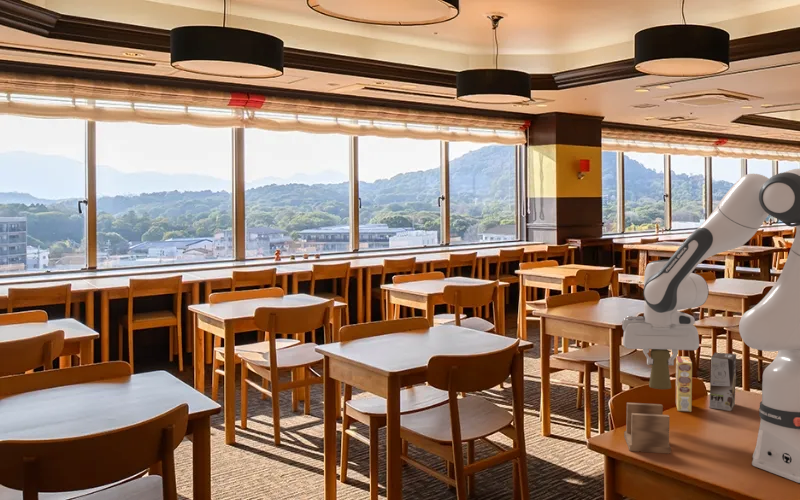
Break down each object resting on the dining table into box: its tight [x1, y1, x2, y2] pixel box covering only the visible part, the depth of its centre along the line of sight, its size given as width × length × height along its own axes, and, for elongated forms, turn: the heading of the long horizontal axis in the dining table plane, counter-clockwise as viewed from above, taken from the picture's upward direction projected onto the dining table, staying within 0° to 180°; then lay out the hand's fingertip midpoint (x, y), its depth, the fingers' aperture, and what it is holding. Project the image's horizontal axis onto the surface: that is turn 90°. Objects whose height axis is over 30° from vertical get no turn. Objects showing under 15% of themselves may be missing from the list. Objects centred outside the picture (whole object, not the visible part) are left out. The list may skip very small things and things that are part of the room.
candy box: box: [675, 355, 693, 413], centre depth 209 cm, size 9×4×15 cm, turn 162°
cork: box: [648, 349, 672, 390], centre depth 192 cm, size 6×6×11 cm
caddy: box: [623, 402, 672, 454], centre depth 177 cm, size 10×11×10 cm
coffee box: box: [709, 352, 737, 412], centre depth 210 cm, size 9×6×16 cm
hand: (660, 364), depth 191 cm, fingers closed on cork, 4 cm apart
